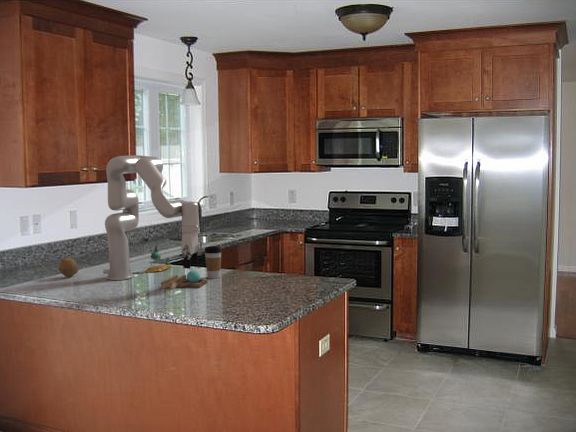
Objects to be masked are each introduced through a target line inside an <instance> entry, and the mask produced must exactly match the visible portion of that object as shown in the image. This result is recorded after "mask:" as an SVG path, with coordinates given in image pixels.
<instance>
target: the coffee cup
mask: <svg viewBox="0 0 576 432" xmlns="http://www.w3.org/2000/svg"><path fill="white" fill-rule="evenodd" d="M203 252H204V256H205V257H204V259H205V264H206V265H205V266H206V273H207V278H208V279H210V278H211V279H214V278H215V279H219V278H221V269H222V268H221V265H222V249H221V246H217V245H210V246H205V247H204V251H203Z"/></svg>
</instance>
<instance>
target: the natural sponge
mask: <svg viewBox="0 0 576 432" xmlns="http://www.w3.org/2000/svg"><path fill="white" fill-rule="evenodd" d="M58 266H59V267H58V271H59V272H60V274H62V275H63V276H64V277H66V278H68V279H69V278H72V277H73V276H74V275H76V274H78V272H79V266H78V264H77V262H76V260H75V259H73V258H71V257H65V258H62V260H61V261H60V262H59V265H58Z"/></svg>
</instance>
